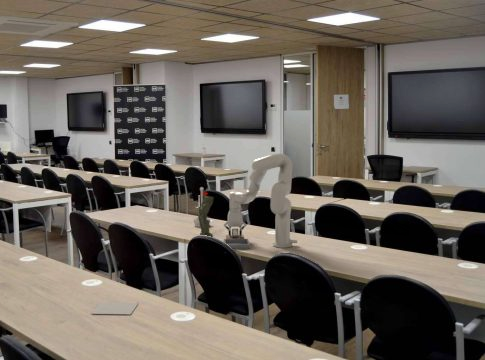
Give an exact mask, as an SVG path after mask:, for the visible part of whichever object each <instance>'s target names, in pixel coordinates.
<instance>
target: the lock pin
mask: <svg viewBox="0 0 485 360" xmlns="http://www.w3.org/2000/svg"><path fill="white" fill-rule="evenodd" d="M231 235H232V238H238V235H239V227H231Z"/></svg>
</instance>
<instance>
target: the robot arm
mask: <svg viewBox="0 0 485 360" xmlns="http://www.w3.org/2000/svg"><path fill="white" fill-rule="evenodd" d="M251 168H252V170H251V173H250V175H249V177H248V180H250V184H249V186H248V188H247V190H246V191H244V192H240V191H231V192H229V211H228V213H227V221H226V222H225V223H224V224H223V227H224V228H225V229H227V230H228V235H230V237H231V235H232V228H238V235H239V236H241V235H243V230H244V229H245V228H246V227H247V224H246V223H245V222H244V221H243V213H242V211H243V210H244V209H243V207H242V206H241V204H242V205H245V204H248V203H251V202H253V201H254V200H255V199H256V197H257V195H258V193H259V191H260V188H261V183H262V181H263V179H264V178H265V175H266V174H267V172H268V170H272V169H277V168H279V170H278V171H279V172H278V175H277V176H278V177H277V178H278V180H277V182H276V183H274V184H273V185H272V188H271V193H270V205H269V206H270V210H271V212H272V213H273V214H274V215H275V220H274V222H275V228H274V232H275V233H274V234H275V236H274V242H273V243H272V246H273V247H275V248H279V249H280V248H283V249H286V248H291V247H292V246H293V244H297V243H298V239H291V212H292V202H291V200H290V199H289V198H288V197H286V196H288V195H289V194H290V193H291V191H292V181H293V180H292V179H293V177H292V176H293V161H292V160H291V158H290V157H289V156H288V155H286V154H285V153H274V154H270V155H266V156H263V157H260V158H257V159H254V160H253V162H252V163H251Z"/></svg>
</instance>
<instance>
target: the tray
mask: <svg viewBox="0 0 485 360" xmlns="http://www.w3.org/2000/svg"><path fill="white" fill-rule="evenodd" d="M224 243H226V244H228V245H229V246H230V247H231V248H232V250H250V248H251V246H250V241H249V238H245V239H226V238H223V244H224Z"/></svg>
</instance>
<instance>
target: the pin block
mask: <svg viewBox="0 0 485 360" xmlns="http://www.w3.org/2000/svg"><path fill="white" fill-rule="evenodd" d="M244 235H245V234H242V235H241V236H239V234H238V238H232V234H231V237H230V235H229V234H226V235H225V239H246V238H245V236H244Z"/></svg>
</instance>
